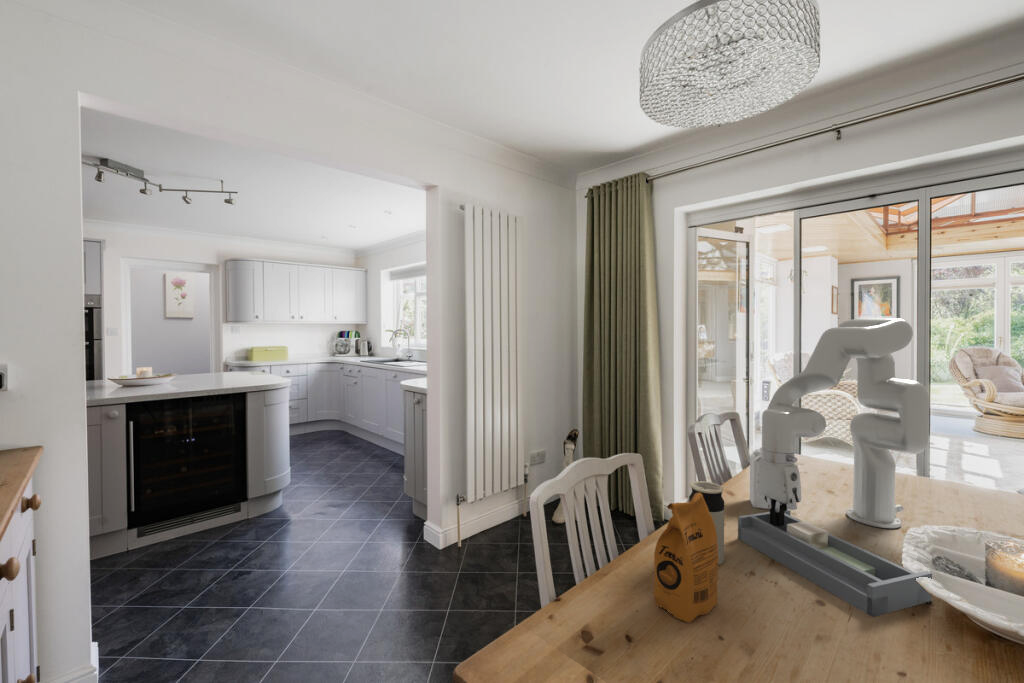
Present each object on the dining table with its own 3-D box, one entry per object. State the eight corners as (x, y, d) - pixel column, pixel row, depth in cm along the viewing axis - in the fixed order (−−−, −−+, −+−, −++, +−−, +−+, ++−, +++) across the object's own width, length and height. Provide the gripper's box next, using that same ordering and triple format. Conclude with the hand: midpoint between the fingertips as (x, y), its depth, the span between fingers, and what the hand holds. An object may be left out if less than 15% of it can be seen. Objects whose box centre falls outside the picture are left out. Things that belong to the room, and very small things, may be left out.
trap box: (787, 530, 124) (787, 509, 124) (931, 601, 91) (932, 573, 91) (738, 538, 119) (738, 516, 119) (872, 617, 86) (872, 587, 86)
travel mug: (696, 546, 115) (697, 478, 114) (728, 558, 109) (729, 486, 108) (683, 558, 109) (683, 486, 109) (716, 570, 103) (717, 494, 103)
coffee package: (645, 601, 92) (646, 497, 91) (683, 583, 98) (684, 485, 98) (687, 629, 83) (688, 514, 83) (725, 606, 90) (726, 500, 89)
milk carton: (773, 502, 144) (774, 444, 143) (779, 510, 137) (779, 450, 137) (749, 499, 146) (750, 443, 146) (753, 507, 139) (754, 448, 139)
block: (804, 536, 113) (805, 521, 113) (827, 547, 107) (827, 531, 107) (786, 539, 111) (786, 524, 111) (808, 551, 105) (809, 534, 105)
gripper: (815, 463, 111) (814, 535, 111) (765, 448, 125) (764, 511, 125) (791, 466, 108) (790, 539, 109) (744, 450, 123) (743, 515, 123)
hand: (776, 524), depth 117 cm, fingers closed
